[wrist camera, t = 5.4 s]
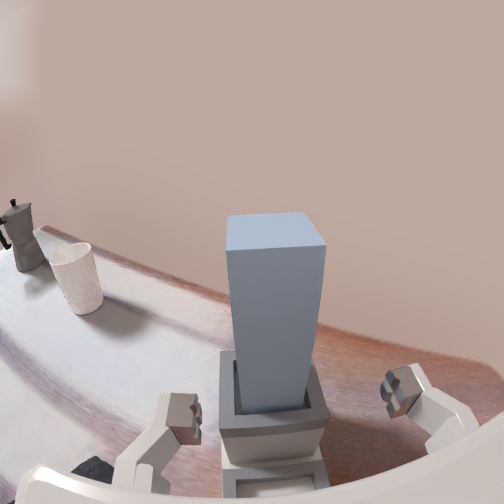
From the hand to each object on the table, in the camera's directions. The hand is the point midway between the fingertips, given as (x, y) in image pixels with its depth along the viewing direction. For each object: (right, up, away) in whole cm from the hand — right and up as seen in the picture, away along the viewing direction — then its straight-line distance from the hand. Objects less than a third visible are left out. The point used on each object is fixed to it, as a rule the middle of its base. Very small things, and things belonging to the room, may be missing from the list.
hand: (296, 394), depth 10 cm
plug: (-1, -5, +8) cm, 10 cm away
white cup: (-31, -3, +32) cm, 45 cm away
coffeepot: (-60, +2, +45) cm, 75 cm away
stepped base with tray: (0, -14, +9) cm, 17 cm away
